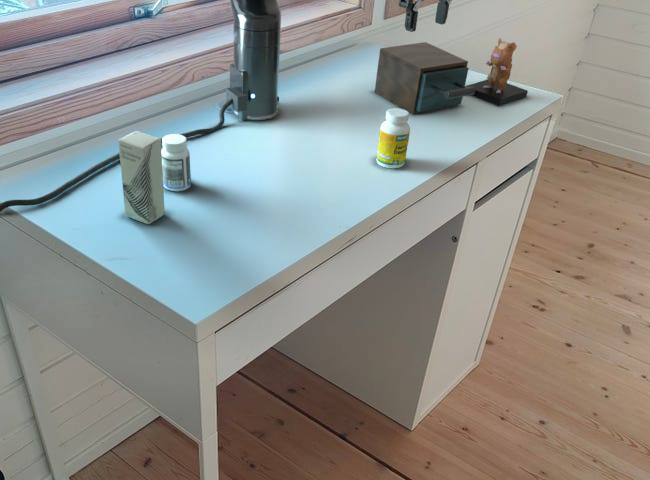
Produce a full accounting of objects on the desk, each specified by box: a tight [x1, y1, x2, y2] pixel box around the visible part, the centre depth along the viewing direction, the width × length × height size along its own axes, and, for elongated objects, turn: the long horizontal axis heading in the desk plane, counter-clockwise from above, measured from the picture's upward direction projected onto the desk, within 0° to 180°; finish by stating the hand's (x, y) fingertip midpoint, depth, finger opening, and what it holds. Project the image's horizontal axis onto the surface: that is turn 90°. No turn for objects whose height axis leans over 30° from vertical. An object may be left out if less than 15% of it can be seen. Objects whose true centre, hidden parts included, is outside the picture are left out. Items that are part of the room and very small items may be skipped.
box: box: [118, 130, 166, 225], centre depth 105 cm, size 5×4×13 cm
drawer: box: [416, 66, 475, 112], centre depth 147 cm, size 19×11×8 cm, turn 28°
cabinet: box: [374, 41, 469, 116], centre depth 150 cm, size 15×13×10 cm
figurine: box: [465, 37, 529, 107], centre depth 153 cm, size 10×10×12 cm
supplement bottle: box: [376, 107, 411, 169], centre depth 124 cm, size 5×5×10 cm
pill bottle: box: [161, 133, 192, 192], centre depth 115 cm, size 5×5×8 cm
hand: (425, 27), depth 136 cm, fingers open, 8 cm apart
